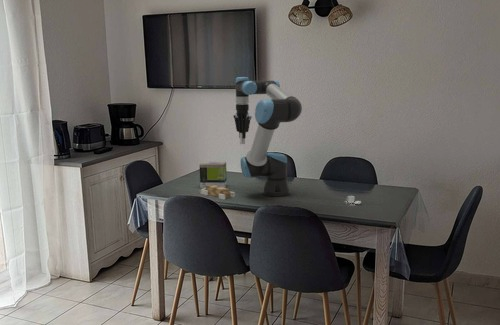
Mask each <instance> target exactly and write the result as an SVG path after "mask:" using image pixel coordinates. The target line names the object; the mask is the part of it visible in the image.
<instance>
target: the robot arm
mask: <svg viewBox="0 0 500 325" xmlns="http://www.w3.org/2000/svg"><path fill="white" fill-rule="evenodd" d="M251 95H267V96H268V97H269V98H266V99H260V100H259V101H258V102H257V103H256V105H255V109H254V119H255V122H257V124H258V125H257V129H256V133H255V136H254V139H253V142H252V145H251V149H250V150H249V151H248V152H246V154H245V156H242V157H241V158H240V169H241V173H242V176H243V177H244V178H249V179H251V178H253V179H254V178H261V177H263V178H264V177H266V179H265V183H264V186H263V190H262V192H263V193H262V194H263V195H265V196H267V197H268V196H270V197H285V196H288V195H290V193H291V189H290V187H289V184H288V157H287V155H285V154H284V153H280V152H279V153H278V152H272V151H271V152H268V149H269V147H270V145H271V142H272V138H273V135H274V132H275V130H277V129H278V128H279V126H280V123H291V122H294V121H296V120H297V119H298V118H299V117H300V116H301V114H302V111H303V107H302V103H301V101H300V100H299V99H298V98H296V96H292V95H290V94H289V93H288V92H286V91H285V90H283V89H282V88H281V85H280V83H279V81H278V80H250V78H249V77H247V76H242V77H241V76H237V77H236V78H235V103H236V104H235V111H236V113H235V114H234V115H233V118H234V124H235V129H236V132H238V133H239V135H238V136H239V144H240V145H244V144H246V138H247V136H246V134H247V133H249V129H250V124H251V123H250V122H251V120H252V116H251V115H249V108H250V107H249V103H250V102H249V100H250V98H249V96H251Z"/></svg>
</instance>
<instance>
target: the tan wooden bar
mask: <svg viewBox="0 0 500 325" xmlns="http://www.w3.org/2000/svg"><path fill="white" fill-rule="evenodd" d="M206 190H207V191H208V195H210V196H213V197H217V198H219V194H224V195H225V200H227V199H230V198H231V197H230V192H231V189H230V188H227V187H225V188H223V187H219V186H215V185H212V184H211V185H206Z"/></svg>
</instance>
